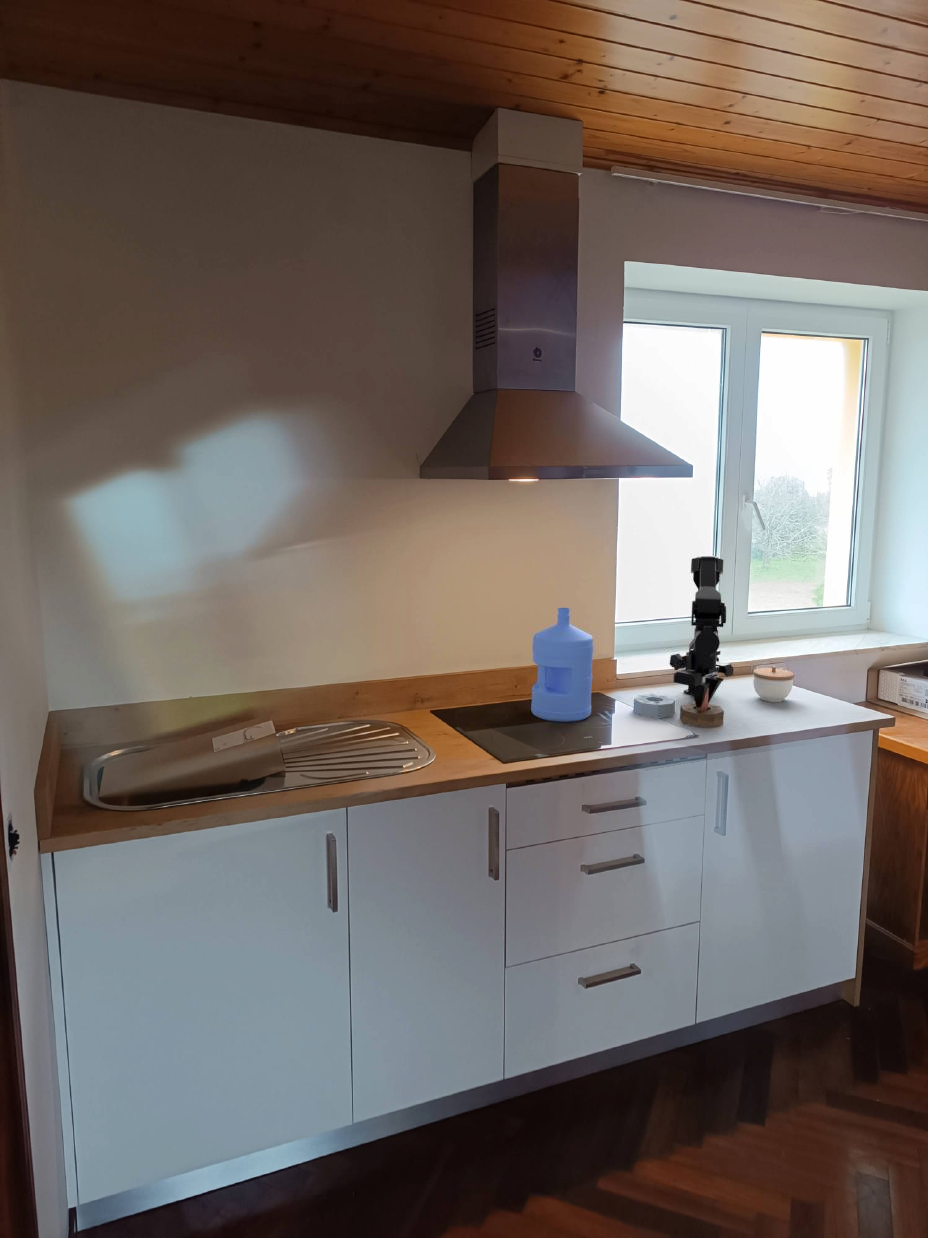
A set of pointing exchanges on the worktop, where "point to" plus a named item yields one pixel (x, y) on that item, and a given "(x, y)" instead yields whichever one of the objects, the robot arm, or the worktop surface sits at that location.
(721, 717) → the walnut bead
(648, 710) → the blue bead
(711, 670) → the robot arm
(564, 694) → the water jug
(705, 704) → the pink rounded cylinder
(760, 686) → the lidded jar
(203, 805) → the worktop surface
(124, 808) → the worktop surface
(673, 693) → the worktop surface
